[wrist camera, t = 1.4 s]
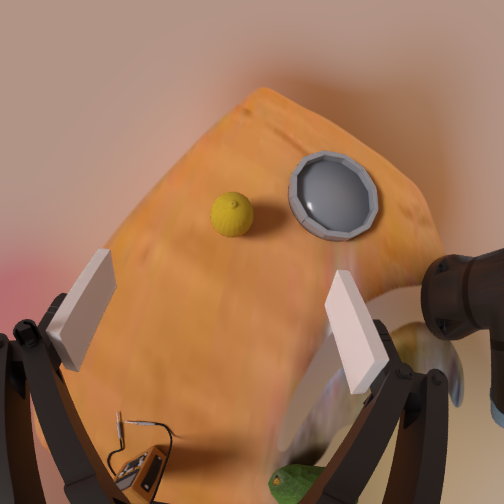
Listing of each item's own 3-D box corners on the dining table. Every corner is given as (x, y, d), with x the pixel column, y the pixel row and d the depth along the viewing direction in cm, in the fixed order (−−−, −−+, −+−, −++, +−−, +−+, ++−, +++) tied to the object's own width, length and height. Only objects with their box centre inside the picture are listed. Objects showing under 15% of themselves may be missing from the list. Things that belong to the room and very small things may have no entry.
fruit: (249, 476, 33) (256, 513, 23) (298, 436, 35) (319, 466, 25) (312, 514, 31) (330, 547, 21) (356, 478, 33) (383, 506, 24)
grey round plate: (366, 167, 45) (372, 160, 43) (373, 245, 42) (380, 241, 40) (288, 153, 44) (291, 145, 42) (286, 236, 41) (290, 231, 39)
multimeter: (139, 394, 34) (75, 451, 15) (186, 445, 33) (162, 531, 14) (79, 437, 31) (9, 489, 12) (122, 482, 30) (76, 554, 10)
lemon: (229, 199, 41) (230, 173, 34) (258, 223, 41) (266, 201, 33) (203, 226, 40) (199, 205, 32) (233, 251, 40) (235, 236, 32)
